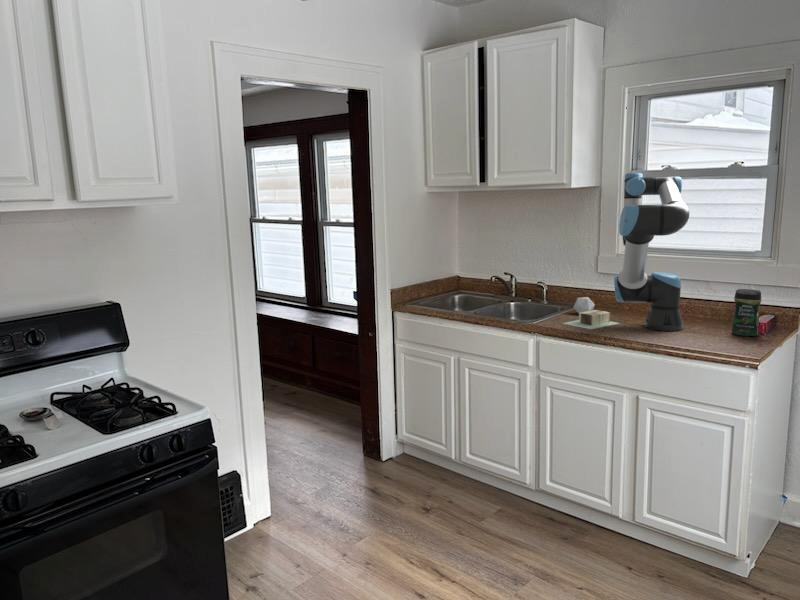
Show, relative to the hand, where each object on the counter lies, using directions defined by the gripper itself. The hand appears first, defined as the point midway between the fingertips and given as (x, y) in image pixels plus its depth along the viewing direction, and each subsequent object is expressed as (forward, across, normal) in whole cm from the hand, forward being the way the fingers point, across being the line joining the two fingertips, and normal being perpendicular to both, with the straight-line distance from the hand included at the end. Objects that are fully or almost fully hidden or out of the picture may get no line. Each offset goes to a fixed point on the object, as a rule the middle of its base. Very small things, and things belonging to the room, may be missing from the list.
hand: (630, 260), depth 297 cm
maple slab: (+24, +26, -2) cm, 35 cm away
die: (+27, +9, -18) cm, 33 cm away
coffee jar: (+27, -8, +50) cm, 57 cm away
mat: (+26, +23, -2) cm, 35 cm away
